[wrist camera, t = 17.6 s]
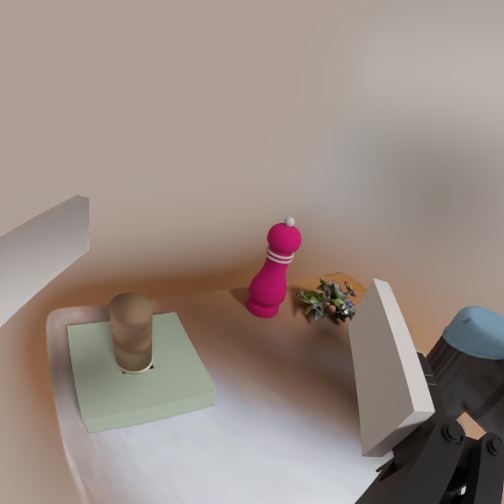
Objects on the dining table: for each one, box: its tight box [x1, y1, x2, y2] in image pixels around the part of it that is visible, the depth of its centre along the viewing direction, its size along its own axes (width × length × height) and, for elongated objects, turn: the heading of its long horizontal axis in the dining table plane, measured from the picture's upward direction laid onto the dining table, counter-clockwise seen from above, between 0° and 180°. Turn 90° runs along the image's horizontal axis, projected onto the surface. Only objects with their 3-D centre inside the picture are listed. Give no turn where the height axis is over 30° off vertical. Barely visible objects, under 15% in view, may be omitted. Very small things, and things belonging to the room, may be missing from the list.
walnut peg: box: [109, 293, 153, 375], centre depth 34 cm, size 5×5×13 cm
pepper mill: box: [247, 217, 301, 318], centre depth 54 cm, size 7×7×20 cm
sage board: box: [67, 312, 218, 433], centre depth 37 cm, size 18×16×4 cm
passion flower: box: [296, 277, 356, 323], centre depth 59 cm, size 11×11×12 cm
